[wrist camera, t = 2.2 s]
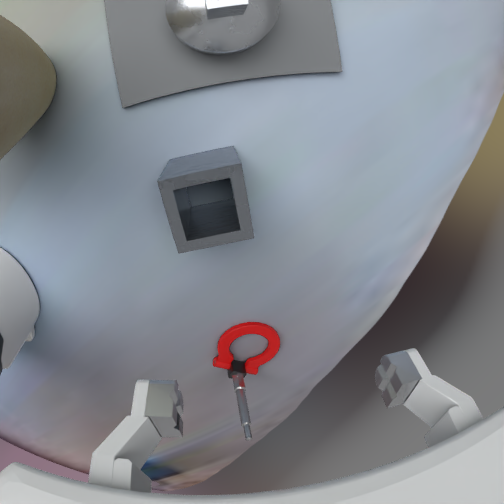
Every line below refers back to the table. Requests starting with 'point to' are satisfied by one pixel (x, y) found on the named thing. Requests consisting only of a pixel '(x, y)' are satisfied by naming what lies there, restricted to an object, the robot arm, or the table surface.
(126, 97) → the mat
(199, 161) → the hollow square tube
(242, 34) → the ratchet
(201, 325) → the table surface
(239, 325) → the tow hook
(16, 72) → the plant pot
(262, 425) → the table surface
